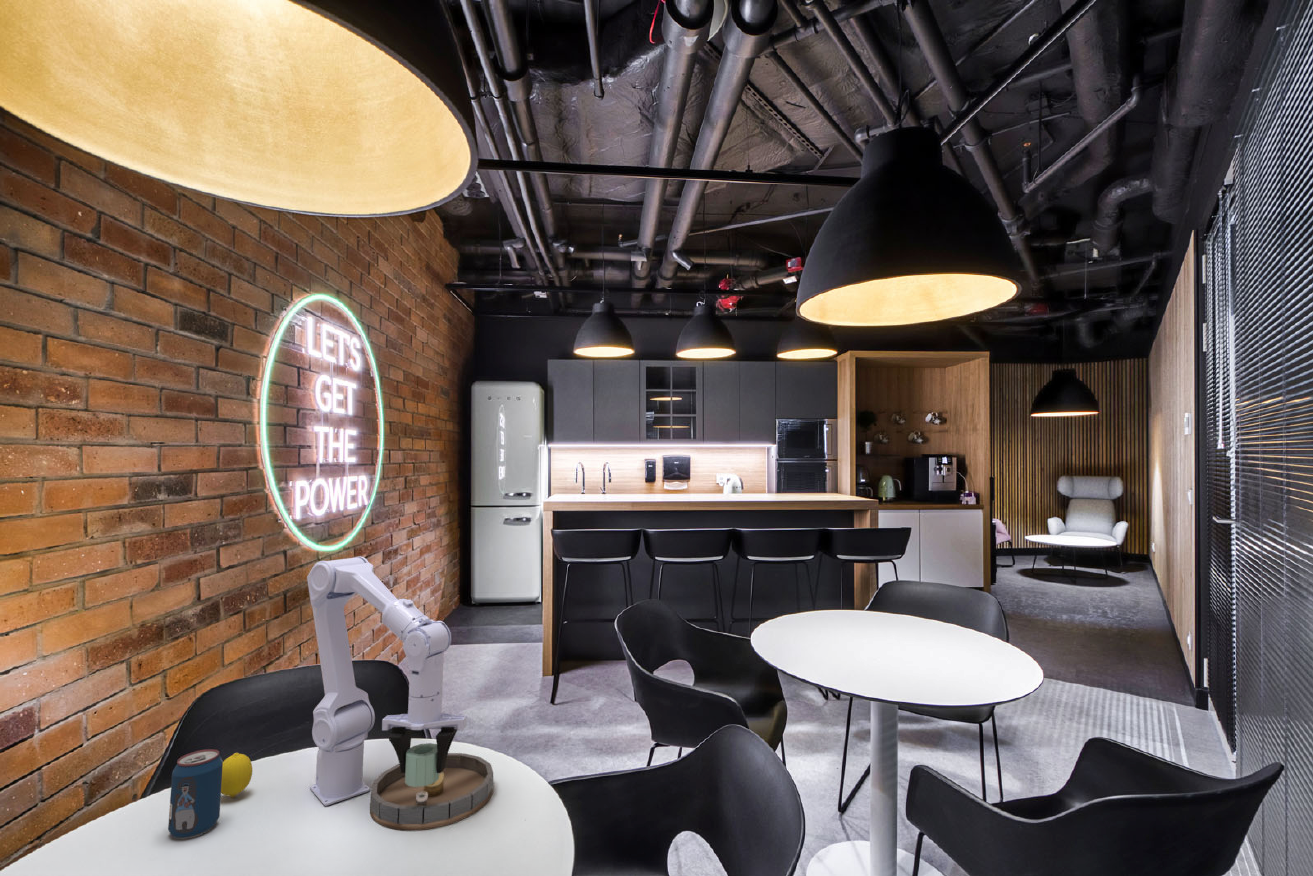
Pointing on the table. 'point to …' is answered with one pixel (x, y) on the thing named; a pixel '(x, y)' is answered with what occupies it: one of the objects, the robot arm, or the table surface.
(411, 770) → the gear
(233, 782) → the lemon
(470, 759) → the tray
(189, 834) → the soda can
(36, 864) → the table surface
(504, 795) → the table surface
